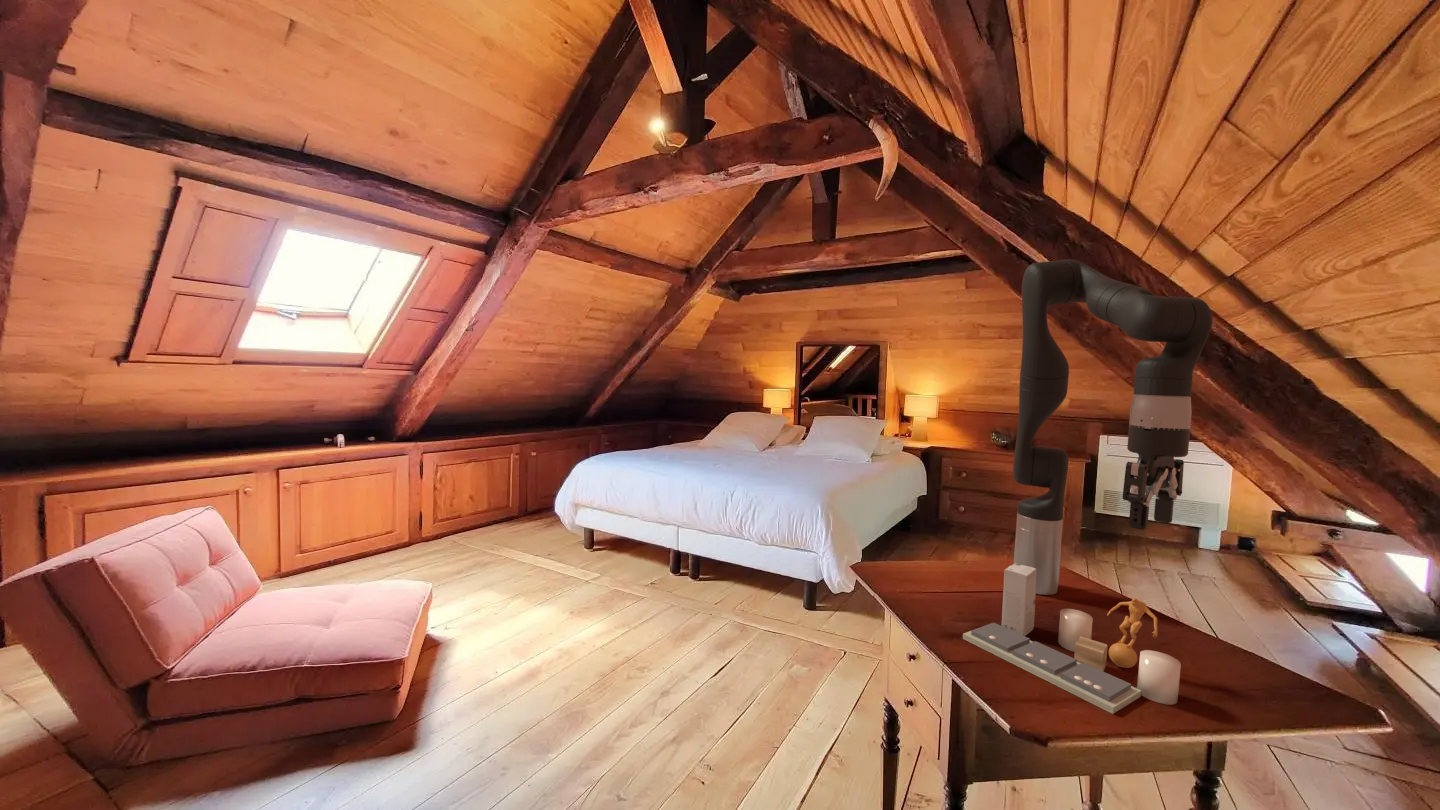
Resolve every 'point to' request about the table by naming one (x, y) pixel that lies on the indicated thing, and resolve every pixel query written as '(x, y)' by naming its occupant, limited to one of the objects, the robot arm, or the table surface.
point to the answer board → (1055, 667)
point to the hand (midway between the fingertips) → (1150, 525)
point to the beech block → (1091, 653)
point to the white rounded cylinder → (1073, 627)
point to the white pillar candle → (1159, 677)
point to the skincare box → (1019, 598)
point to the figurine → (1123, 652)
